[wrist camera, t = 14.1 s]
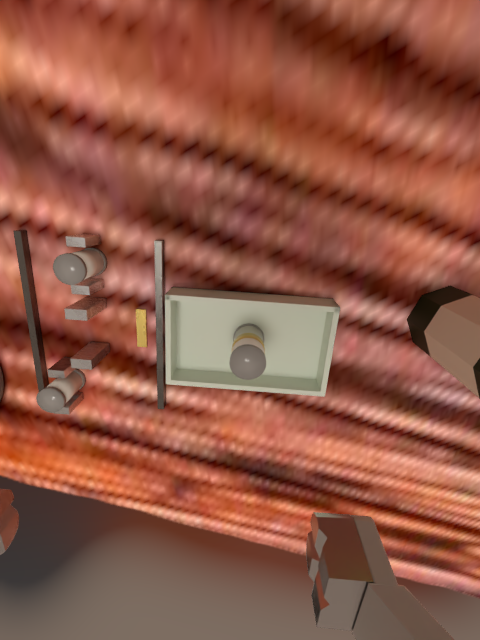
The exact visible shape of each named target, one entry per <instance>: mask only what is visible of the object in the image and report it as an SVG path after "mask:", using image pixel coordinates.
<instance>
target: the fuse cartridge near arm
mask: <svg viewBox="0 0 480 640" xmlns="http://www.w3.org/2000/svg"><path fill="white" fill-rule="evenodd" d="M106 267H107V259H106V257H105V255H104V254H103V252H102V251H100V250H99V249H97V248H86V249H84V250H82V251H78V252H74V253H66V254H62V255H59V256H58V257H57V258H56V259H55V261H54V264H53V270H54V273H55V275H56V277H57V278H58V279H59V280H60V281H61V282H63V283H65V284H68V285H75V284H78V283H80V282H82V281H83V280H85V279H87V278H89V277H92V276H96V275H99V274H101V273H103V272H104V271H105V269H106Z"/></svg>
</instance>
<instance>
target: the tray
mask: <svg viewBox="0 0 480 640" xmlns="http://www.w3.org/2000/svg"><path fill="white" fill-rule="evenodd" d="M339 312H340V307H339V305H338V304H337V303H336V302H335V301H334V300H333V299H330V298H317V297H303V296H289V295H276V294H262V293H248V292H235V291H221V290H207V289H194V288H180V287H172V288H171V289H170V290H169V291H168V292H167V293H166V294H165V348H166V384H171V385H184V386H196V387H209V388H222V389H235V390H248V391H260V392H273V393H286V394H299V395H311V396H324V397H325V392H326V387H327V381H328V375H329V369H330V364H331V358H332V352H333V346H334V341H335V335H336V329H337V323H338V318H339ZM247 323H250V324H254V325H257V326H258V327H259V328H260V329H261V330H262V331H263V334H264V347H265V357H266V368H265V370H264V372H263V373H262V374H261V375H260V376H259V377H257V378H255V379H251V380H245V379H241V378H239V377H237V376H236V375H235V374H234V373H233V372H232V371H231V369H230V364H229V362H230V356H231V354H232V345H233V336H234V332H235V331H236V329H237V328H238V327H239V326H241V325H243V324H247Z"/></svg>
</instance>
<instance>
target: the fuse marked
mask: <svg viewBox="0 0 480 640" xmlns="http://www.w3.org/2000/svg"><path fill="white" fill-rule="evenodd" d="M229 364H230V369H231V371H232V372H233V373H234V374H235V375H236V376H237V377H239V378H241V379H245V380H251V379H255V378H257V377H259V376H260V375H261V374H262V373H263V372H264V370H265V368H266V357H265V347H264V334H263V331H262V330H261V329H260V328H259V327H258V326H257V325H254V324H250V323H247V324H243V325H241V326H239V327H238V328H237V329H236V331H235V332H234V336H233V345H232V354H231V356H230V362H229Z"/></svg>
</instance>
